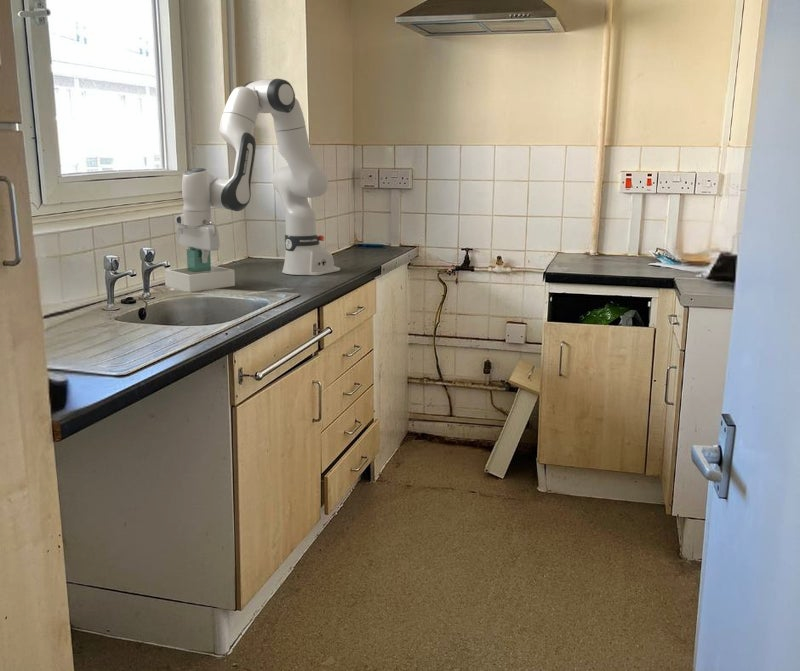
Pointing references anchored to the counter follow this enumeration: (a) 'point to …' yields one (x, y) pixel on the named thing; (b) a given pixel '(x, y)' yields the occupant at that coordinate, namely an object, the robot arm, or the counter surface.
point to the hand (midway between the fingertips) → (199, 261)
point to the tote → (199, 278)
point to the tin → (197, 261)
